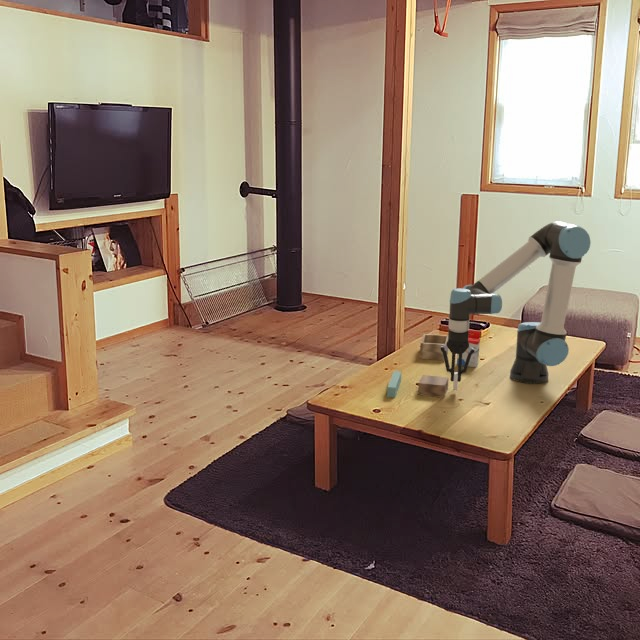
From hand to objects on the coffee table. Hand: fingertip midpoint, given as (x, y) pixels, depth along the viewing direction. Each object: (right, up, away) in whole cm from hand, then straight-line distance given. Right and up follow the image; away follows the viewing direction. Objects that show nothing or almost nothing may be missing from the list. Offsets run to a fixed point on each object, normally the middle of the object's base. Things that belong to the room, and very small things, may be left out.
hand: (455, 389), depth 301 cm
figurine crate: (-1, +11, +50) cm, 51 cm away
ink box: (+11, +7, +36) cm, 38 cm away
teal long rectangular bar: (-23, 0, +5) cm, 23 cm away
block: (-8, -1, +2) cm, 9 cm away
